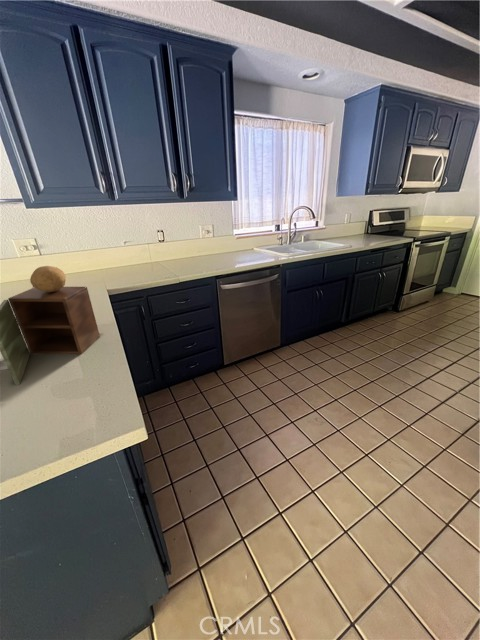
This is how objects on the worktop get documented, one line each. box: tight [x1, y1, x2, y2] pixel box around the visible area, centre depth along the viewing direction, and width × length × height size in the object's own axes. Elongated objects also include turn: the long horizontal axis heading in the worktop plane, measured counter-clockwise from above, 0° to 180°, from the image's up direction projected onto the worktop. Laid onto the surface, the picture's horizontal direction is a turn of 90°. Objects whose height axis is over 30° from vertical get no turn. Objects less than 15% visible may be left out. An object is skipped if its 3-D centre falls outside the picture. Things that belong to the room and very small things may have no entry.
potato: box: [29, 265, 67, 292], centre depth 86 cm, size 10×14×8 cm
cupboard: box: [7, 286, 101, 355], centre depth 91 cm, size 12×18×20 cm, turn 88°
